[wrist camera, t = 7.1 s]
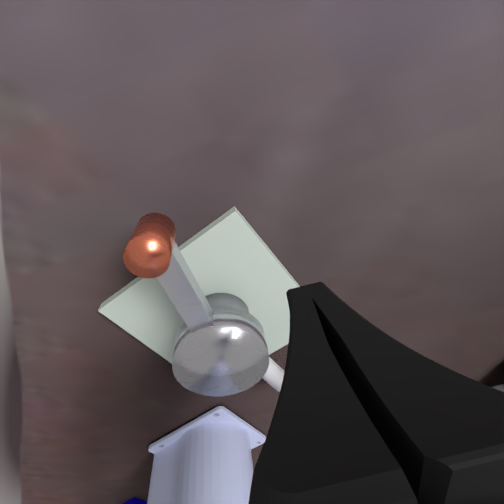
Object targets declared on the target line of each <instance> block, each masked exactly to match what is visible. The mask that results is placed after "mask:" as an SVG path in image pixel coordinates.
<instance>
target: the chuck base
mask: <svg viewBox="0 0 504 504" xmlns="http://www.w3.org/2000/svg"><path fill="white" fill-rule="evenodd" d="M178 248H179V250H180V252H181V253H182V255H183V257H184V259H185V261H186V263H187V264H188V266H189V268H190V270H191V272H192V273H193V275H194V277H195V279H196V281H197V282H198V284H199V286H200V288H201V290H202V291H203V293H204V295H205V297H206V299H207V300H208V302H209V304H210V306H211V308H214V307H232V308H237V309H241V310H243V311H246V312H248V313H250V314H251V315H253V316H254V317H255V318H256V319H257V320H258V321H259V322H260V324H261V325H262V327H263V330H264V334H265V339H266V343H267V348H268V353H269V355H270V354H271V353H273V352H275V351H276V350H278V349H280V348H281V347H283V346H285V345H287V344H288V343H289V332H290V311H289V305H288V300H287V295H286V292H287V291H288V290H289V289H293V288H297V287H300V286H299V285H298V283H297V282H296V281H295V280H294V278H293V277H292V276H291V275H290V274H289V272H288V271H287V270H286V269H285V267H284V266H283V265H282V264H281V262H280V261H279V260H278V259H277V258H276V256H275V255H274V254H273V253H272V251H271V250H270V249H269V248H268V247H267V245H266V244H265V243H264V242H263V240H262V239H261V238H260V237H259V236H258V234H257V233H256V232H255V231H254V229H253V228H252V227H251V226H250V224H249V223H248V222H247V221H246V220H245V218H244V217H243V216H242V215H241V213H240V212H239V211H238V210H237V209H236V207H235V206H234V207H233V208H231V209H230V210H228V211H227V212H226V213H224V214H223V215H222V216H220V217H219V218H218V219H216V220H215V221H213V222H212V223H211V224H209V225H208V226H207V227H205V228H204V229H202V230H201V231H200V232H198V233H197V234H196V235H194V236H193V237H192V238H190V239H189V240H187V241H186V242H185V243H183V244H182V245H181V246H179V247H178ZM98 311H99V312H100V313H102V314H103V315H104V316H106V317H107V318H109V319H110V320H111V321H113V322H114V323H116V324H117V325H118V326H120V327H121V328H123V329H124V330H125V331H127V332H128V333H130V334H131V335H132V336H134V337H135V338H137V339H138V340H139V341H141V342H142V343H144V344H145V345H146V346H148V347H149V348H150V349H152V350H153V351H155V352H156V353H157V354H159V355H160V356H162V357H163V358H164V359H166V360H167V361H169V362H170V363H171V364H172V361H173V354H174V346H175V338H176V334H177V331H178V329H179V328H180V326H181V325H182V324H183V322H184V320H183V319H182V317H181V316H180V314H179V312H178V311H177V309H176V308H175V306H174V305H173V303H172V301H171V300H170V298H169V297H168V295H167V294H166V292H165V290H164V289H163V287H162V286H161V284H160V283H159V281H158V279H157V278H141V277H137V278H135V279H134V280H133V281H131V282H130V283H129V284H127V285H126V286H124V287H123V288H122V289H120V290H119V291H118V292H116V293H115V294H113V295H112V296H111V297H109V298H108V299H107V300H105V301H104V302H103V303H101V305H100V307H99V309H98ZM283 377H284V370H283V369H282V368H281V367H280V366H279V365H278V364H276V363H275V362H274V361H273V360H272V359H271V358H270V357H269V367H268V369H267V372H266V373H265V375H264V376H263V377H262V378H263V379H264V380H265V381H266V382H268V383H269V384H270V385H271V386H272V387H273V388H275V389H276V390H277V391H278V392H280V390H281V386H282V381H283Z"/></svg>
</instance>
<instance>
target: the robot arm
mask: <svg viewBox="0 0 504 504" xmlns="http://www.w3.org/2000/svg"><path fill="white" fill-rule="evenodd" d="M286 295H287V300H288V305H289V311H290V332H289V343H288V353H287V360H286V366H285V371H284V377H283V381H282V386H281V390H280V394H279V398H278V402H277V405H276V409H275V412H274V415H273V418H272V422H271V425H270V428H269V431H268V434H267V437H266V436H265V435H263V434H262V433H261V432H259V431H258V430H256V429H255V428H253V427H252V426H251V425H249V424H248V423H246V422H245V421H243V420H242V419H241V418H239V417H238V416H236V415H235V414H234V413H232V412H231V411H229V410H228V409H226V408H225V407H223V406H218V407H216V408H214V409H212V410H210V411H209V412H207V413H205V414H203V415H202V416H200V417H198V418H196V419H195V420H193V421H191V422H189V423H188V424H186V425H184V426H182V427H180V428H179V429H177V430H175V431H173V432H172V433H170V434H168V435H166V436H165V437H163V438H161V439H159V440H158V441H156V442H154V443H152V444H151V445H149V449H148V450H149V452H151V453H153V454H154V459H153V466H152V473H151V480H150V487H149V494H148V501H147V504H504V392H502V391H500V390H497V389H494V388H492V387H489V386H487V385H484V384H482V383H480V382H477V381H475V380H473V379H470V378H468V377H466V376H463V375H461V374H459V373H457V372H455V371H453V370H451V369H449V368H446V367H444V366H442V365H440V364H438V363H436V362H434V361H432V360H430V359H428V358H426V357H424V356H423V355H421V354H419V353H417V352H415V351H414V350H412V349H410V348H408V347H407V346H405V345H403V344H402V343H400V342H398V341H397V340H395V339H393V338H392V337H390V336H389V335H387V334H386V333H384V332H383V331H381V330H380V329H379V328H377V327H376V326H374V325H373V324H371V323H370V322H369V321H367V320H366V319H365V318H363V317H362V316H361V315H359V314H358V313H357V312H356V311H354V310H353V309H352V308H351V307H349V306H348V305H347V304H346V303H345V302H343V301H342V300H341V299H340V298H339V297H338V296H337V295H335V294H334V293H333V292H332V291H331V290H330V289H329V288H328V287H327V286H326V285H325V284H324V283H322V282H318V283H313V284H309V285H305V286H301V287H297V288H293V289H289V290H288V291H287V292H286ZM264 442H265V443H264ZM263 443H264V445H263V448H262V450H261V453H260V455H259V458H258V461H257V463H256V466H255V468H254V471H253V464H252V455H251V449H253V448H255V447H257V446H259V445H261V444H263Z"/></svg>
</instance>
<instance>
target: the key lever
mask: <svg viewBox="0 0 504 504" xmlns="http://www.w3.org/2000/svg"><path fill="white" fill-rule="evenodd" d="M175 236H176V227H175V225H174V223H173V221H172V220H171V219H170V218H169V217H167V216H165V215H163V214H160V213H149V214H147V215H145V216H143V217H142V218H141V219H140V220H139V222H138V224H137V226H136V228H135V230H134V232H133V234H132V236H131V238H130V241H129V243H128V245H127V247H126V249H125V251H124V254H123V261H124V264H125V266H126V268H127V269H128V270H129V271H130V272H131V273H132V274H134V275H136V276H138V277H141V278H157V279H158V281H159V283H160V284H161V286H162V287H163V289H164V290H165V292H166V294H167V295H168V297H169V298H170V300H171V301H172V303H173V305H174V306H175V308H176V309H177V311H178V312H179V314H180V316H181V317H182V319H183V320H184V322H183V324H182V325H181V326H180V328H179V329H178V331H177V334H176V338H175V346H174V354H173V361H172V370H173V374H174V376H175V378H176V379H177V381H178V382H179V383H180V384H181V385H182V386H183V387H185V388H186V389H188V390H190V391H192V392H194V393H197V394H201V395H206V396H227V395H233V394H236V393H239V392H242V391H245V390H247V389H249V388H250V387H252V386H254V385H255V384H256V383H258V382H259V381H260V380H261V379H262V377H263V376H264V375H265V373H266V372H267V369H268V367H269V353H268V348H267V343H266V339H265V334H264V330H263V327H262V325H261V324H260V322H259V321H258V320H257V319H256V318H255V317H254V316H253V315H251V314H250V313H248V312H246V311H243V310H241V309H237V308H232V307H214V308H211V306H210V304H209V302H208V300H207V299H206V297H205V295H204V293H203V291H202V290H201V288H200V286H199V284H198V282H197V281H196V279H195V277H194V275H193V273H192V272H191V270H190V268H189V266H188V264H187V263H186V261H185V259H184V257H183V255H182V253H181V252H180V250H179V248H178V246H177V244H176V243H175Z"/></svg>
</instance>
